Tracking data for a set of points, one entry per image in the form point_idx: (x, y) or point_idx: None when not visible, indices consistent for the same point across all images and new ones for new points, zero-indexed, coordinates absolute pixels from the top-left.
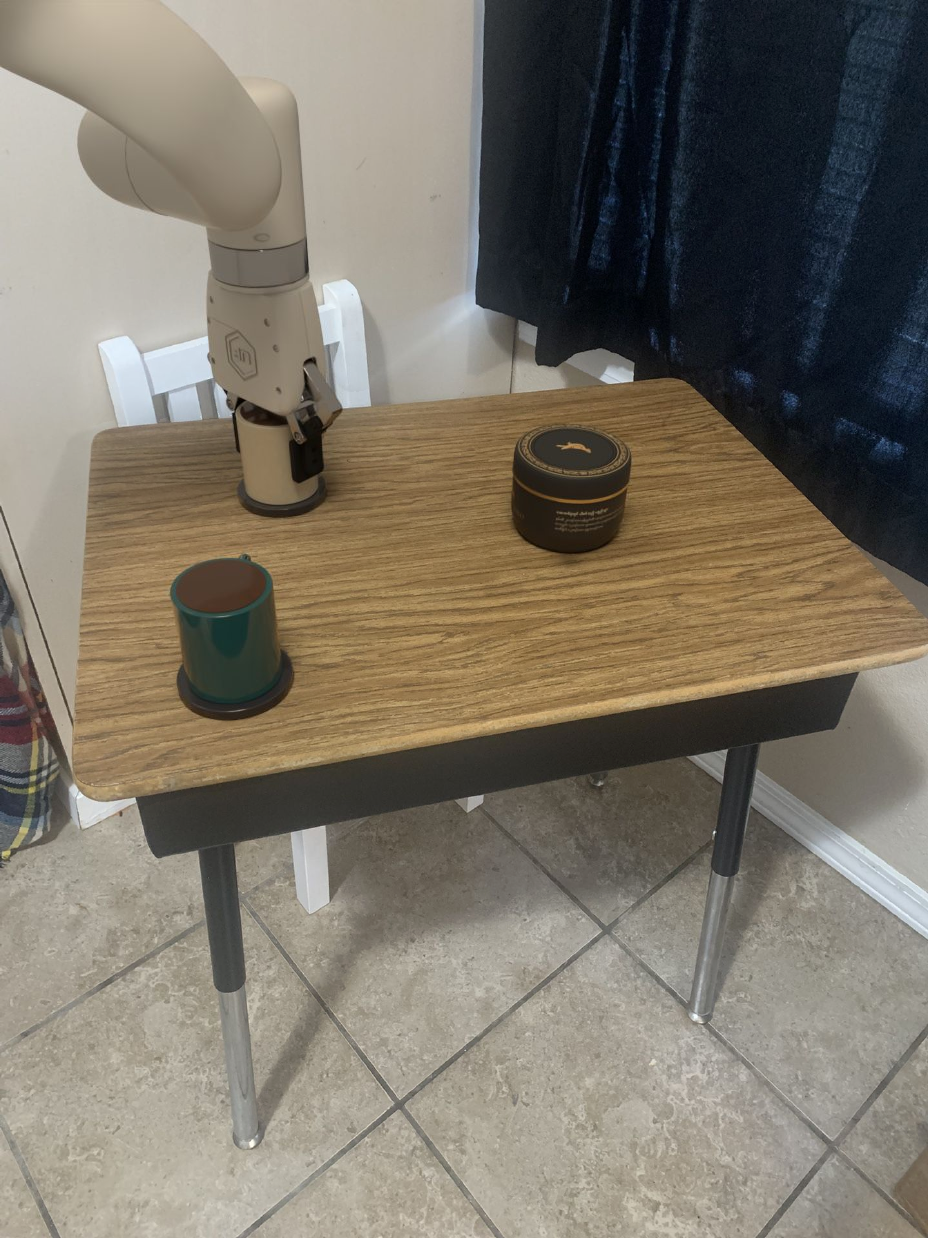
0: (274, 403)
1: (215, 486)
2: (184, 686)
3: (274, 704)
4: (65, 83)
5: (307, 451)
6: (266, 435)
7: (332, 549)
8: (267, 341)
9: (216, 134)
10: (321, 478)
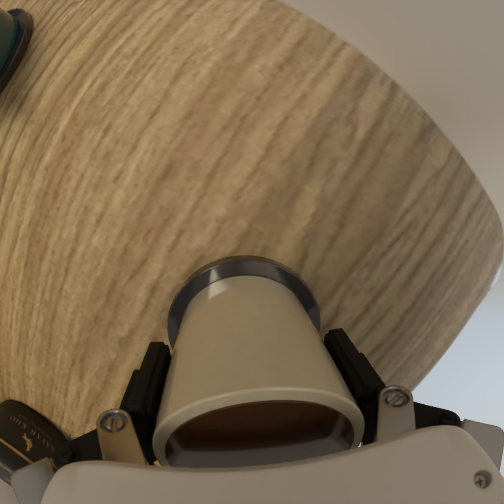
0: (91, 491)
1: (346, 261)
2: (10, 13)
3: None
4: None
5: (123, 403)
6: (183, 391)
7: (69, 280)
8: None
9: None
10: None
